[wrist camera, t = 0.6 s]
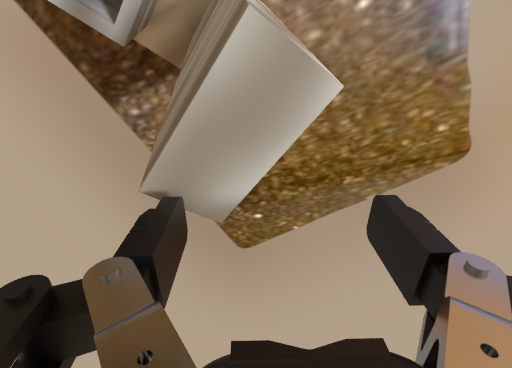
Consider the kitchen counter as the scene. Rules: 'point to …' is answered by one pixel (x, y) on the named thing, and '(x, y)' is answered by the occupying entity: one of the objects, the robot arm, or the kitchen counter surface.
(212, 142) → the grey holder stand
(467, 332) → the robot arm
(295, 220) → the kitchen counter surface
